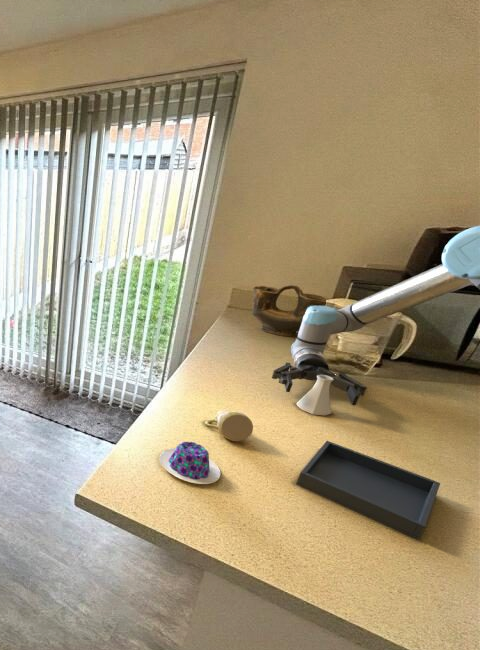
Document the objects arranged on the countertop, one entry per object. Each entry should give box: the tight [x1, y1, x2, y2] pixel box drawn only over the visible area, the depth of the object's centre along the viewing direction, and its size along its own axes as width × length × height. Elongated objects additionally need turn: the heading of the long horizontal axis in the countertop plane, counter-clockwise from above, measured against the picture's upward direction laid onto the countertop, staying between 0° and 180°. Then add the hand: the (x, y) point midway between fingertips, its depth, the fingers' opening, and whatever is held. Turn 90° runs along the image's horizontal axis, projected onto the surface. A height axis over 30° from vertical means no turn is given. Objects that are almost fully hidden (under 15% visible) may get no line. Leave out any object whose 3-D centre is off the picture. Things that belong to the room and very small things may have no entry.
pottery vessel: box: [251, 284, 329, 338], centre depth 158 cm, size 25×11×20 cm, turn 38°
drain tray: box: [295, 440, 441, 541], centre depth 79 cm, size 18×18×3 cm
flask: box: [295, 375, 334, 416], centre depth 106 cm, size 7×7×10 cm
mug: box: [204, 410, 254, 442], centre depth 98 cm, size 8×10×10 cm
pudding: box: [159, 441, 221, 485], centre depth 86 cm, size 12×12×5 cm
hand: (321, 394), depth 104 cm, fingers open, 13 cm apart
